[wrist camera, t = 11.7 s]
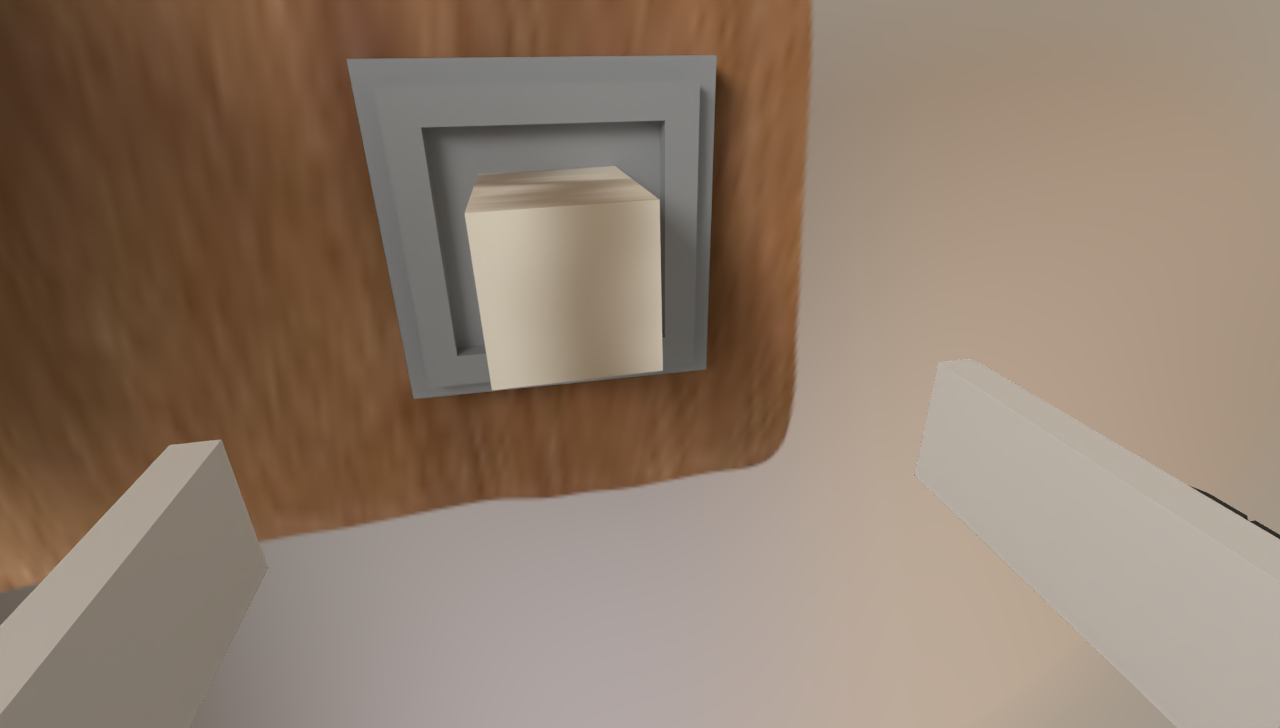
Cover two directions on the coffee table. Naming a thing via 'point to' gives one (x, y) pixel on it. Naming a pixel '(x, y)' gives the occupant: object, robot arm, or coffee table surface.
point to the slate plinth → (529, 141)
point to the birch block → (566, 275)
